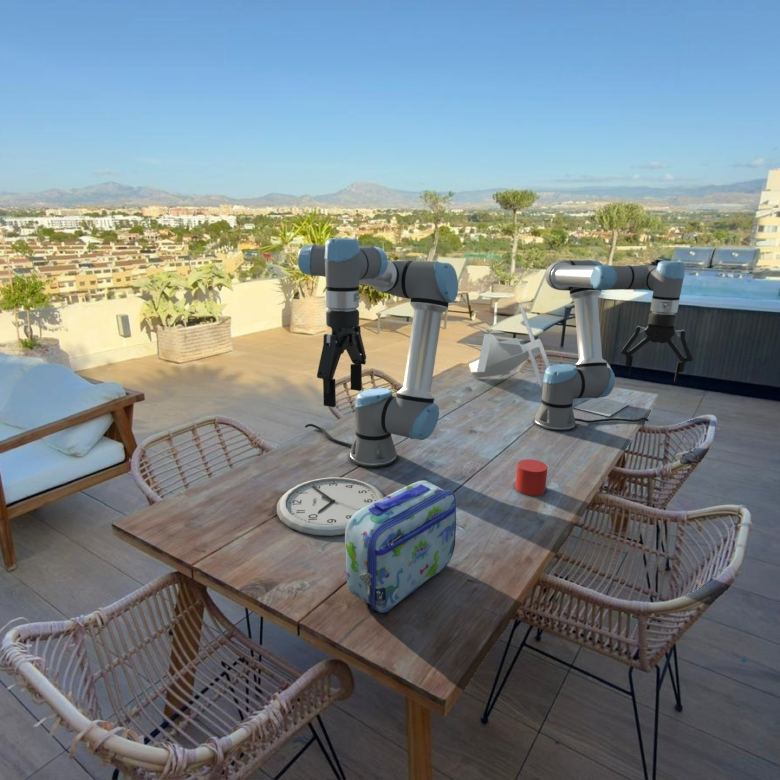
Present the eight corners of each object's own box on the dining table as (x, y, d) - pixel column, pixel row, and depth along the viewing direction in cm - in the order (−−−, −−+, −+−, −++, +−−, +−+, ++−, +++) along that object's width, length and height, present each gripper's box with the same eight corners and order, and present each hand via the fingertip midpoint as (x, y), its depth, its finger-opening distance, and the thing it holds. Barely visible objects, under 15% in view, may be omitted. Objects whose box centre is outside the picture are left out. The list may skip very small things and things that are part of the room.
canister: (530, 498, 148) (532, 474, 146) (509, 485, 155) (511, 462, 153) (551, 491, 153) (553, 467, 150) (529, 479, 160) (532, 457, 157)
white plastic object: (490, 419, 265) (470, 397, 240) (471, 347, 287) (451, 319, 262) (561, 395, 253) (548, 369, 228) (536, 321, 275) (521, 290, 250)
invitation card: (608, 416, 214) (573, 407, 224) (608, 416, 214) (573, 408, 224) (628, 404, 229) (594, 396, 238) (628, 405, 229) (594, 397, 238)
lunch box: (374, 626, 100) (375, 530, 93) (338, 598, 107) (337, 508, 101) (459, 568, 117) (465, 484, 111) (424, 547, 124) (427, 467, 118)
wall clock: (392, 527, 129) (268, 531, 127) (391, 533, 130) (269, 537, 127) (383, 473, 158) (282, 475, 155) (383, 478, 158) (282, 480, 156)
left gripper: (330, 318, 106) (332, 416, 113) (379, 303, 128) (378, 385, 135) (298, 315, 109) (302, 411, 115) (352, 301, 131) (352, 382, 137)
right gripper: (618, 311, 163) (609, 376, 170) (710, 318, 153) (696, 387, 159) (620, 307, 170) (610, 370, 176) (708, 314, 159) (695, 381, 166)
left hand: (343, 397), depth 125 cm, fingers open, 13 cm apart
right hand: (651, 378), depth 168 cm, fingers open, 13 cm apart
